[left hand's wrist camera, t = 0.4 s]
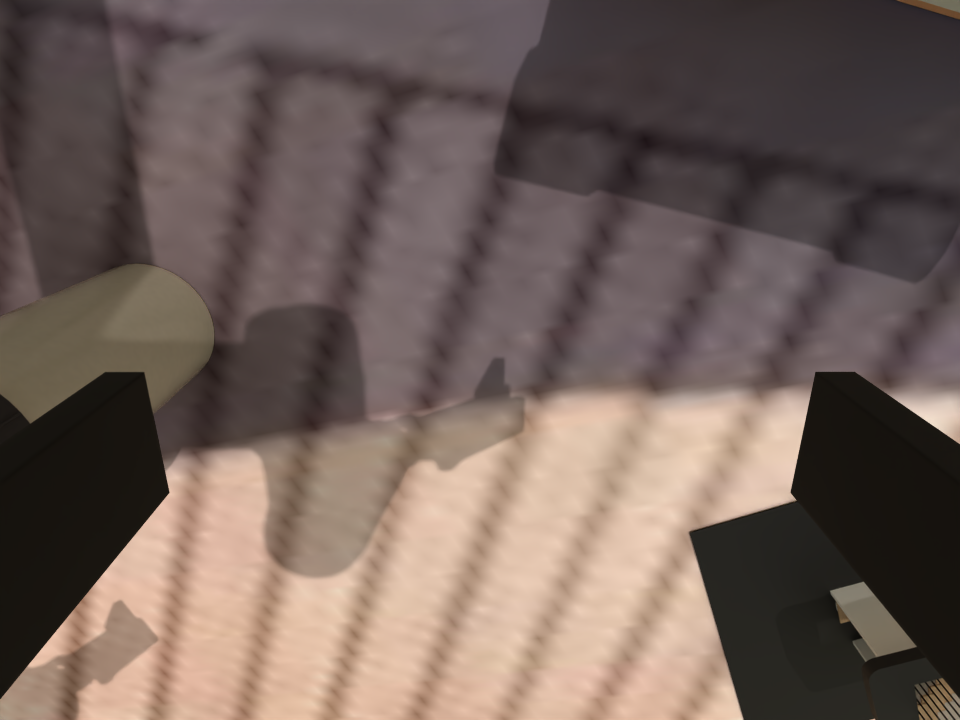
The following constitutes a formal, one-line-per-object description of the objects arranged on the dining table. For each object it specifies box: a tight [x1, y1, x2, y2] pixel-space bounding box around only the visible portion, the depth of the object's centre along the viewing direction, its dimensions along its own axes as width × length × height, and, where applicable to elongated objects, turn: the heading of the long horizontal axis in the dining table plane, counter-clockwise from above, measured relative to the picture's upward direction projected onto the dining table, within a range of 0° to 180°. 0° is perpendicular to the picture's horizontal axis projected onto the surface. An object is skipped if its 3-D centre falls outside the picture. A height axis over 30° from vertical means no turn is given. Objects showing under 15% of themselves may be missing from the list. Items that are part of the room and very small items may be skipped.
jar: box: [0, 264, 214, 423], centre depth 32 cm, size 8×8×19 cm
